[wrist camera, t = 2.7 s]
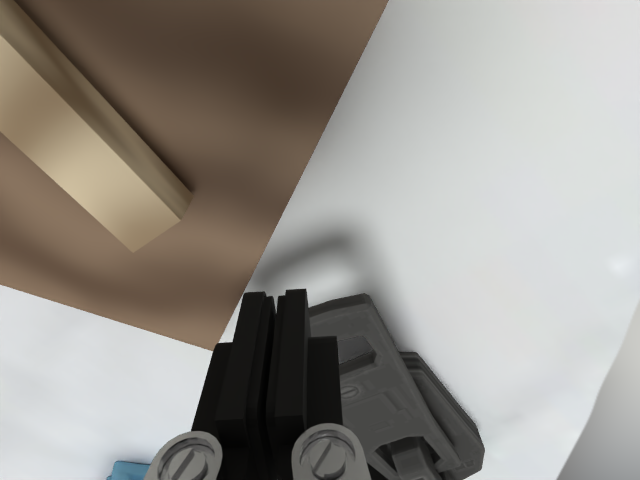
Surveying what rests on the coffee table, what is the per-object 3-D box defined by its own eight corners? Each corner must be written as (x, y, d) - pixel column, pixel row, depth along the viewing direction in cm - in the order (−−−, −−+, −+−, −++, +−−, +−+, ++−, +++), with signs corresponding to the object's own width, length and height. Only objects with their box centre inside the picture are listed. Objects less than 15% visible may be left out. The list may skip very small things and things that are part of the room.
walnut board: (-298, -411, 13) (-368, -455, 11) (385, -7, 18) (391, -6, 17) (-203, 198, 23) (-234, 211, 21) (218, 334, 28) (214, 351, 27)
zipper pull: (375, 289, 18) (521, 532, 30) (360, 217, 24) (487, 445, 36) (207, 361, 21) (404, 563, 32) (229, 279, 26) (390, 476, 38)
